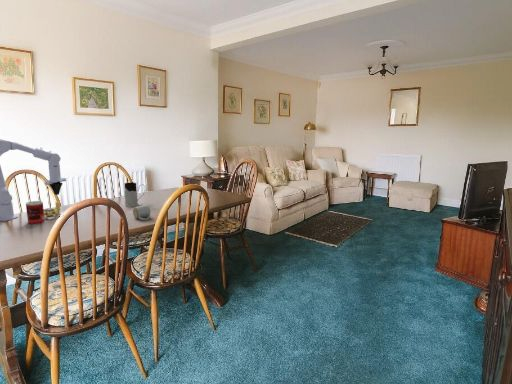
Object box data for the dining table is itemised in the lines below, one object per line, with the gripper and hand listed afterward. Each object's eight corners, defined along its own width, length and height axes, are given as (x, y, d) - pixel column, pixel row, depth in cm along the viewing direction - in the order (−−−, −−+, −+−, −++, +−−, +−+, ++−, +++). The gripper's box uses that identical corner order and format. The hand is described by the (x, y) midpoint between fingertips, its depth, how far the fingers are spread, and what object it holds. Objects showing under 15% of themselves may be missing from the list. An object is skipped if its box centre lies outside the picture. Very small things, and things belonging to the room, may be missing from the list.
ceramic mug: (132, 217, 192) (131, 205, 190) (145, 215, 197) (145, 203, 195) (139, 222, 184) (139, 209, 182) (153, 219, 189) (152, 207, 188)
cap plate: (29, 217, 183) (28, 211, 182) (48, 211, 196) (48, 205, 196) (50, 220, 181) (49, 213, 180) (69, 213, 194) (68, 207, 193)
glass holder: (122, 204, 220) (121, 182, 217) (143, 201, 228) (143, 181, 225) (126, 207, 213) (125, 185, 210) (147, 204, 221) (147, 183, 218)
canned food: (40, 219, 182) (38, 200, 179) (47, 221, 178) (45, 202, 175) (25, 222, 175) (22, 202, 173) (32, 225, 171) (30, 205, 169)
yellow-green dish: (50, 216, 183) (49, 207, 182) (35, 214, 184) (34, 206, 183) (66, 210, 195) (66, 202, 194) (52, 209, 197) (51, 201, 196)
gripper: (51, 174, 186) (53, 197, 189) (69, 171, 200) (71, 192, 203) (40, 174, 187) (42, 196, 190) (59, 170, 201) (61, 191, 204)
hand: (56, 194), depth 196 cm, fingers closed
